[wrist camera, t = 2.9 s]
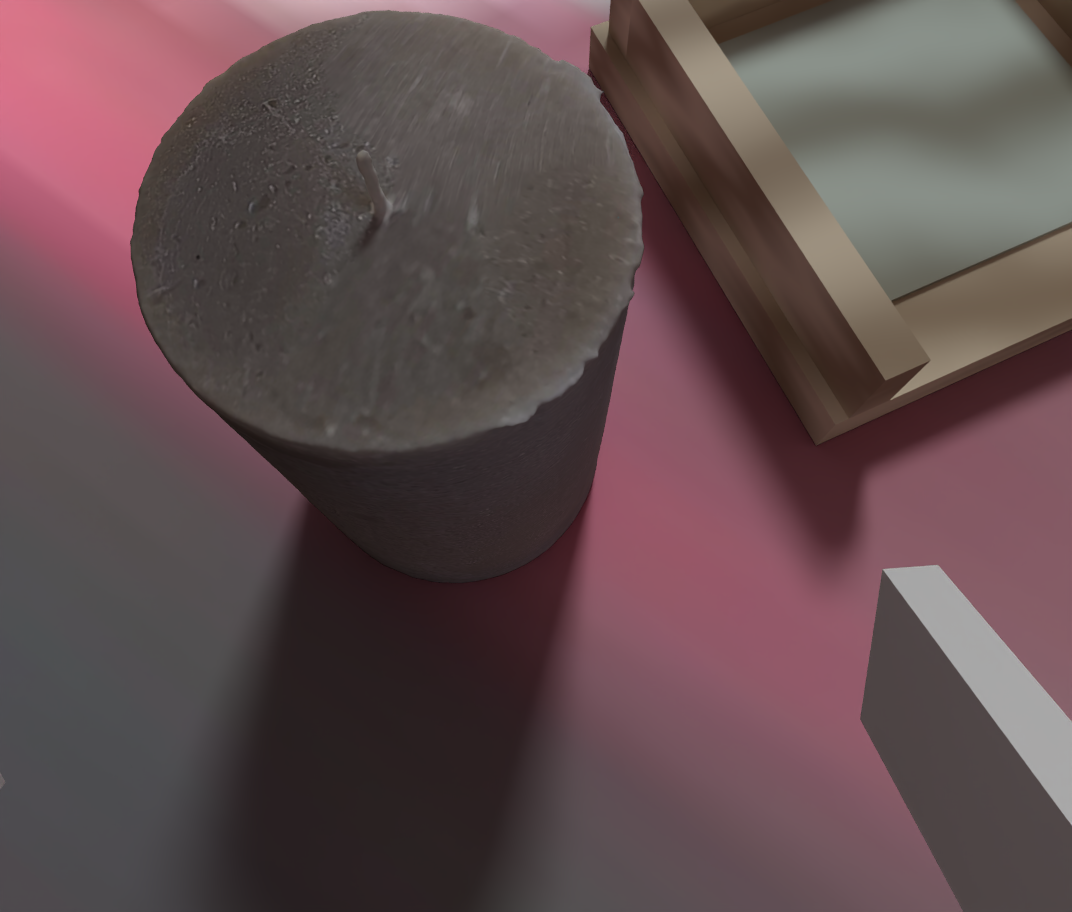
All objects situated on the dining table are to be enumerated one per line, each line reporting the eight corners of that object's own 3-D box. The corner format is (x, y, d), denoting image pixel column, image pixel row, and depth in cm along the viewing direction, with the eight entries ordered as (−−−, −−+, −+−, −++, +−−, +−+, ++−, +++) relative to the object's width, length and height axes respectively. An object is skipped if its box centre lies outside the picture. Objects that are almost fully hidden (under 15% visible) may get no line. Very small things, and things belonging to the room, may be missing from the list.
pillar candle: (263, 453, 28) (-35, 180, 14) (461, 270, 30) (382, -133, 16) (462, 649, 26) (356, 570, 12) (661, 438, 28) (779, 148, 14)
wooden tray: (588, 67, 33) (594, -44, 28) (964, -76, 35) (1028, -202, 30) (815, 445, 28) (870, 387, 23) (1243, 251, 30) (1375, 160, 25)
